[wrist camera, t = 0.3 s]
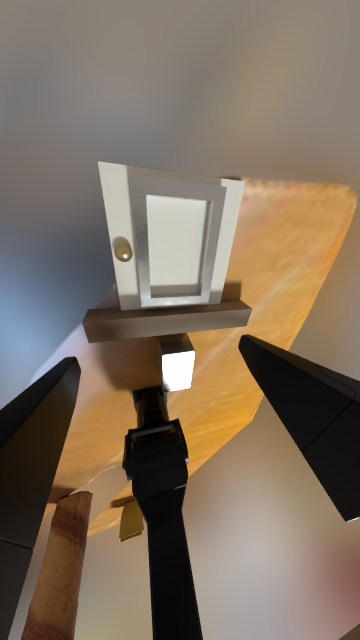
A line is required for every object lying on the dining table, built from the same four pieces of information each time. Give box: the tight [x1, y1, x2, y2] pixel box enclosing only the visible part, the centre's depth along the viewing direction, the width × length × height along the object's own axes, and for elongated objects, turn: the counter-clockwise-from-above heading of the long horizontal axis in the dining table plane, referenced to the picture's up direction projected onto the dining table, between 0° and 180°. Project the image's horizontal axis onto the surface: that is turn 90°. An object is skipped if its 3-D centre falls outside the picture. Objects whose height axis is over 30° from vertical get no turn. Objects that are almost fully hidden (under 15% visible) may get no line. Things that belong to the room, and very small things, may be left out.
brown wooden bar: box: [82, 300, 252, 343], centre depth 22 cm, size 3×22×3 cm, turn 86°
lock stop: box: [158, 333, 195, 393], centre depth 26 cm, size 8×4×5 cm, turn 177°
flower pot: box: [119, 500, 144, 542], centre depth 64 cm, size 9×9×9 cm
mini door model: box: [98, 161, 245, 310], centre depth 18 cm, size 14×14×2 cm
